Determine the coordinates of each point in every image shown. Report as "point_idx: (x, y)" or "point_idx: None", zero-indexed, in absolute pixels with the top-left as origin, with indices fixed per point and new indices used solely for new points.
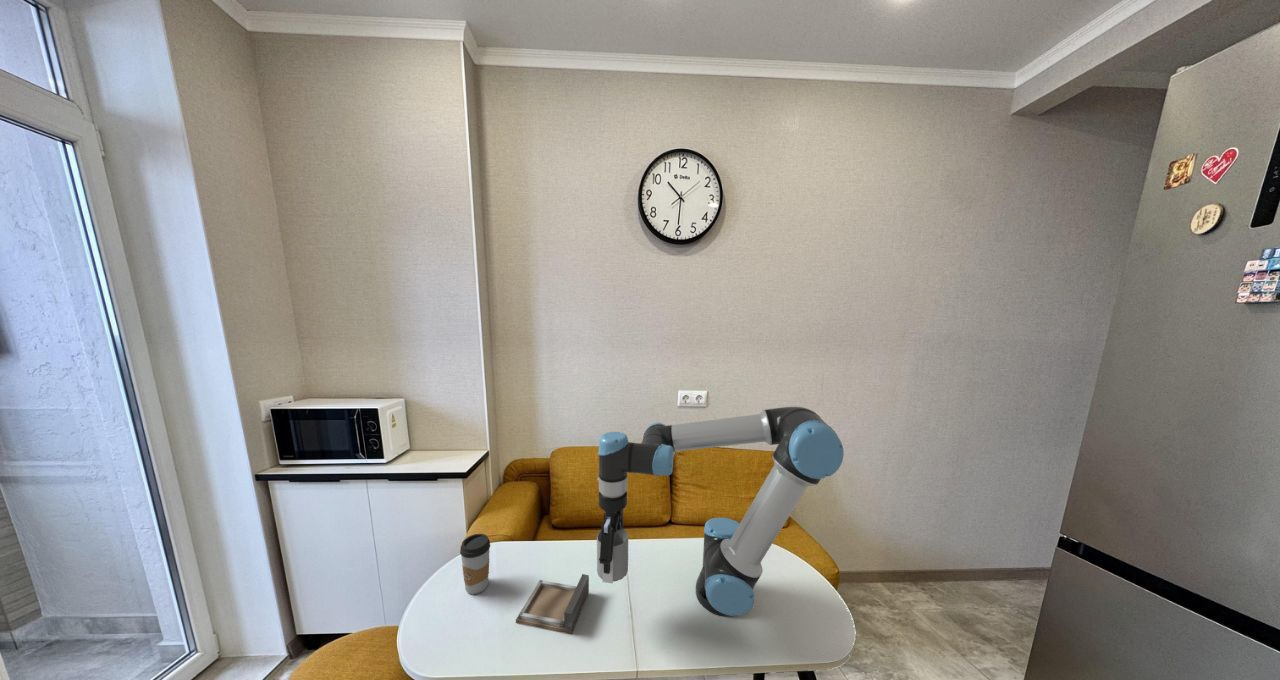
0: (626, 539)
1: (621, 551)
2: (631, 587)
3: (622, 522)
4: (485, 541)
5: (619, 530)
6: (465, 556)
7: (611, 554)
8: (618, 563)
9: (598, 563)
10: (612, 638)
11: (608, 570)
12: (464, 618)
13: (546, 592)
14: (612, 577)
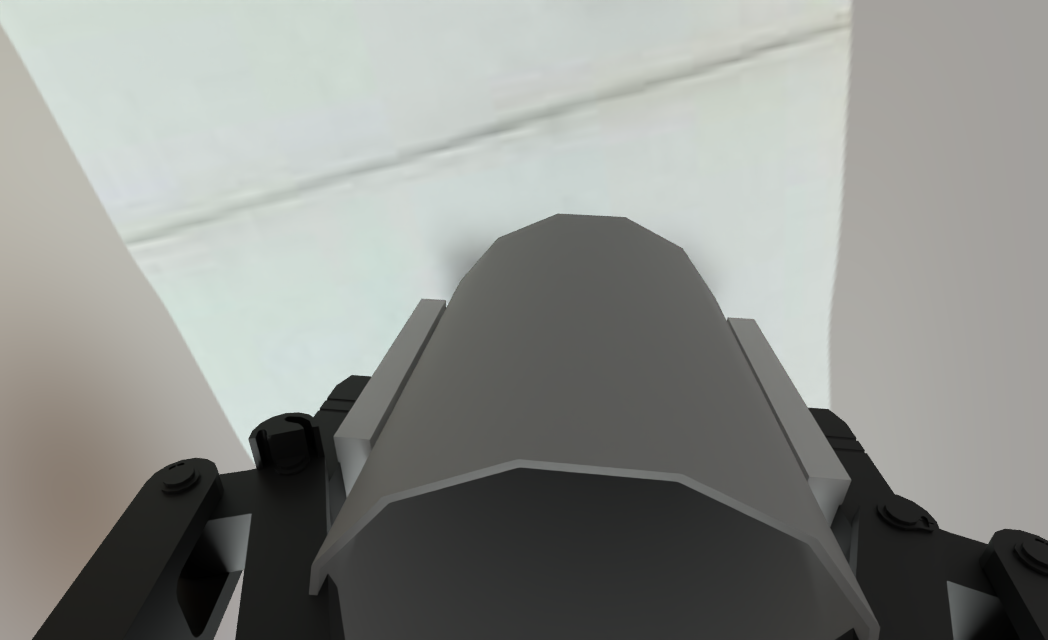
0: (439, 398)
1: (769, 436)
2: (368, 151)
3: (153, 584)
4: None
5: (338, 561)
6: None
7: (944, 589)
8: (743, 365)
9: (672, 509)
10: (693, 186)
11: (856, 444)
12: None
13: None
14: (769, 348)
